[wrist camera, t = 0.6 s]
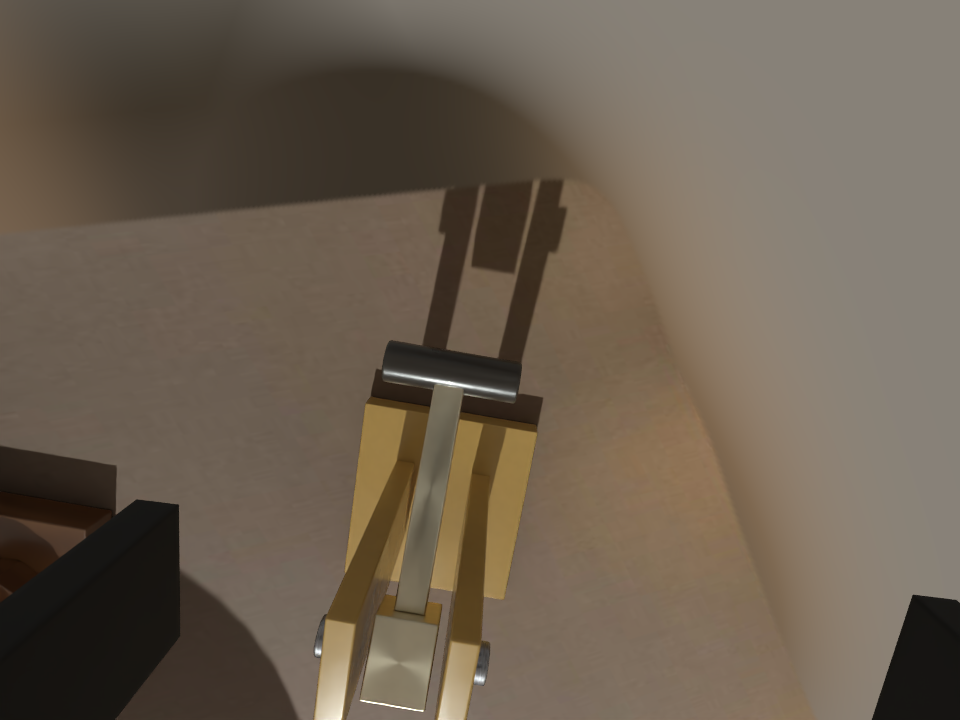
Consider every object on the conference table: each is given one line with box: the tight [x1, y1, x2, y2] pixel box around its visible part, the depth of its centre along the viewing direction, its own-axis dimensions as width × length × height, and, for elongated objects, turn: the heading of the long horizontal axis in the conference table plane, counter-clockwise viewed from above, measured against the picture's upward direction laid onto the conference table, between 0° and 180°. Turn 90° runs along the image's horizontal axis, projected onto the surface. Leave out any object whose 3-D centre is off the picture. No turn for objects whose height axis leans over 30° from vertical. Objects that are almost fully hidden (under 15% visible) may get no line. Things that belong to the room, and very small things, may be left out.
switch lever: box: [360, 340, 522, 712], centre depth 21 cm, size 12×5×2 cm, turn 170°
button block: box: [0, 492, 112, 602], centre depth 33 cm, size 12×9×4 cm
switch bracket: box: [313, 397, 537, 720], centre depth 26 cm, size 10×9×14 cm
